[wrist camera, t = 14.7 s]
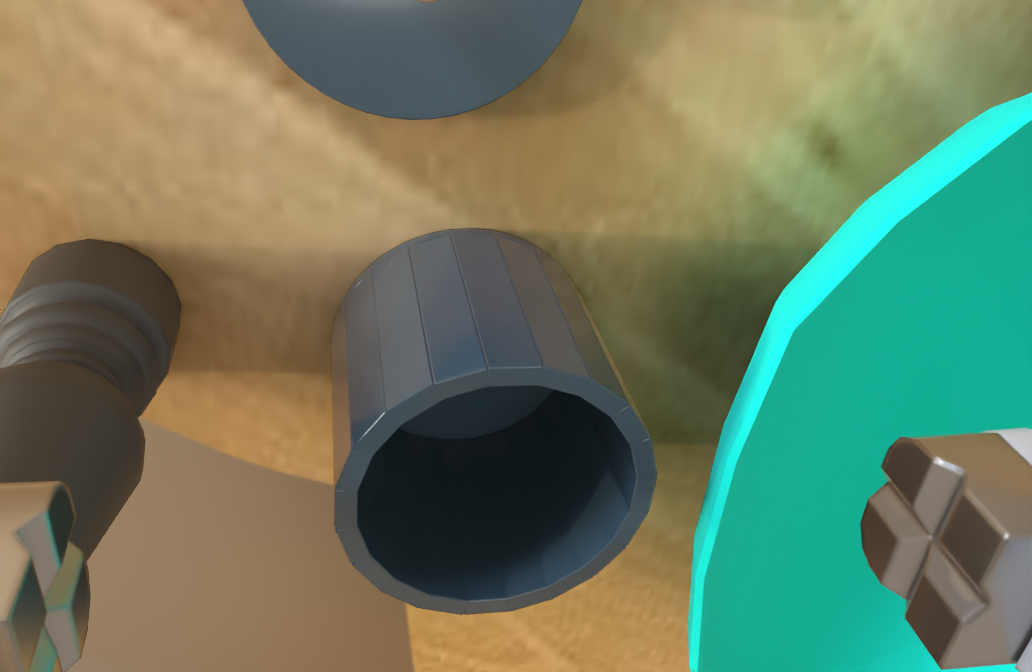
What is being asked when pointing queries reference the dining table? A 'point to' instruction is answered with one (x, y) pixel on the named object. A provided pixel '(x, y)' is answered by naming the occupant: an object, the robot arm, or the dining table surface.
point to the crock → (480, 428)
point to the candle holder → (84, 374)
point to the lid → (413, 49)
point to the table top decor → (865, 406)
